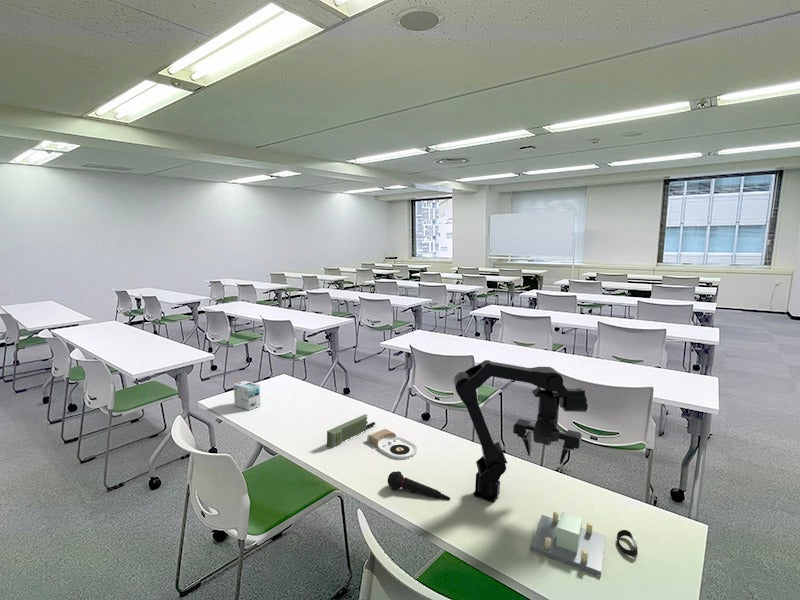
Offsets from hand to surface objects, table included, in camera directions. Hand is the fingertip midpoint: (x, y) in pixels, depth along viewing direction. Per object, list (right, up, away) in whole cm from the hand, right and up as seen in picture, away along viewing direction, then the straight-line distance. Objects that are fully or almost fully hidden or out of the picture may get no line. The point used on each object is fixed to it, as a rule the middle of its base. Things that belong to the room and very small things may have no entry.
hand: (544, 459), depth 124 cm
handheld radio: (-63, -6, +39) cm, 74 cm away
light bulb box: (-115, -1, +67) cm, 133 cm away
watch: (+14, -15, -19) cm, 28 cm away
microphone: (-39, -12, +2) cm, 40 cm away
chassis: (0, -15, -19) cm, 24 cm away
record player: (-46, -8, +31) cm, 56 cm away
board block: (-1, -13, -19) cm, 23 cm away
